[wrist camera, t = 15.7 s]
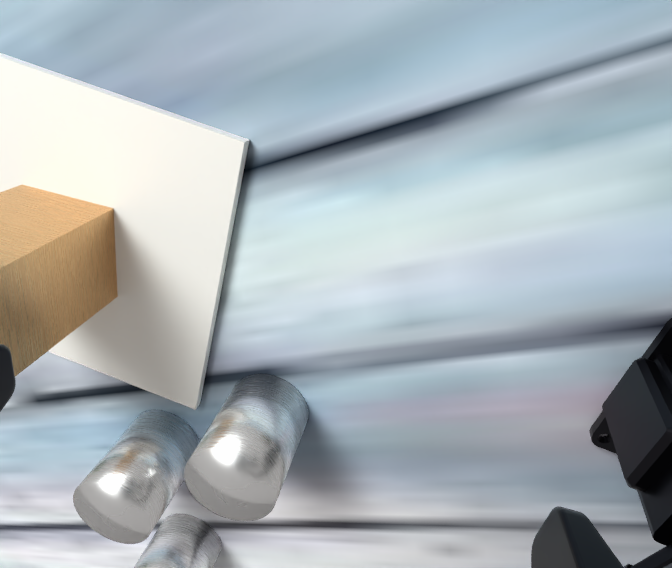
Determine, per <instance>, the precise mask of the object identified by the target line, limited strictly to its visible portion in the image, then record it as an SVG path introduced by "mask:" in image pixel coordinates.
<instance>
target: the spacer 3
mask: <svg viewBox="0 0 672 568" xmlns="http://www.w3.org/2000/svg"><path fill="white" fill-rule="evenodd" d="M308 417H309V411H308V406H307V403H306V401H305V399H304V397H303V396H302V394H301V393H300V392H299V391H298V390H297V389H296V388H295V387H294V386H293V385H291V384H290V383H289V382H287V381H285V380H283V379H281V378H279V377H276V376H272V375H268V374H254V375H249V376H247V377H245V378H243V379H241V380H240V381H239V382H238V383H237V384H236V385H235V387H234V388H233V390H232V391H231V393H230V394H229V396H228V398H227V399H226V401H225V402H224V404H223V406H222V407H221V409H220V410H219V412H218V414H217V415H216V417H215V419H214V420H213V422H212V423H211V425H210V427H209V428H208V430H207V431H206V433H205V435H204V436H203V438H202V439H201V441H200V443H199V444H198V446H197V447H196V449H195V451H194V452H193V454H192V455H191V457H190V459H189V460H188V462H187V463H186V466H185V470H184V477H185V482H186V485H187V487H188V489H189V490H190V492H191V494H192V495H193V496H194V497H195V499H196V500H197V501H198V502H199V503H201V504H202V505H203V506H204V507H206V508H207V509H208V510H210V511H212V512H213V513H215V514H218V515H220V516H222V517H225V518H228V519H232V520H237V521H253V520H258V519H260V518H263V517H265V516H266V515H268V514H269V513H270V512H271V511H272V509H273V508H274V506H275V503H276V501H277V498H278V496H279V493H280V490H281V488H282V485H283V483H284V480H285V478H286V475H287V473H288V470H289V467H290V465H291V462H292V460H293V457H294V455H295V452H296V450H297V447H298V444H299V442H300V439H301V437H302V434H303V432H304V429H305V427H306V424H307V421H308Z"/></svg>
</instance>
